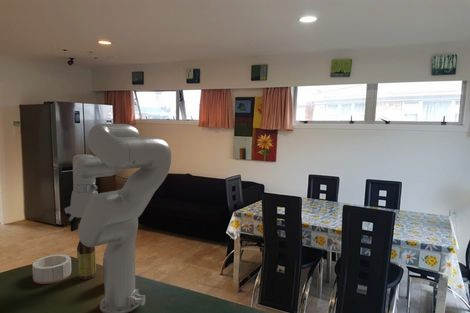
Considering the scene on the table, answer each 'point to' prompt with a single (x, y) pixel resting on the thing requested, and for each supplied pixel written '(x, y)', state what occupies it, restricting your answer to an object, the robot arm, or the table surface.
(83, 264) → the sauce bottle
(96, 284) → the table surface
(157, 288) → the table surface
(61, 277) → the bottle holder
